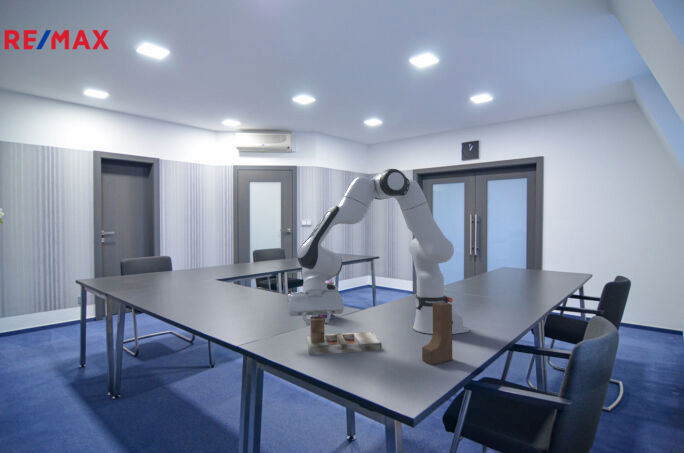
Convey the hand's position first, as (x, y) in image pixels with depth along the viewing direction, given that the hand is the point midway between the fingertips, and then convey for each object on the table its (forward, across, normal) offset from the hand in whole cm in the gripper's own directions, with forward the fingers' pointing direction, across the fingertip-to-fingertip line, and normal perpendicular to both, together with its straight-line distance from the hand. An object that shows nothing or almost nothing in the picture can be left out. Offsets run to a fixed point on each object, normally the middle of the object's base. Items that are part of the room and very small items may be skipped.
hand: (317, 324), depth 121 cm
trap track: (+6, +9, +6) cm, 12 cm away
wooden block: (+19, +37, -6) cm, 42 cm away
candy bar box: (-24, +7, +36) cm, 44 cm away
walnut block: (+4, 0, +5) cm, 6 cm away
